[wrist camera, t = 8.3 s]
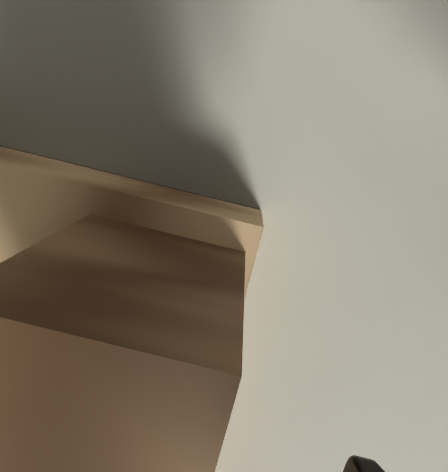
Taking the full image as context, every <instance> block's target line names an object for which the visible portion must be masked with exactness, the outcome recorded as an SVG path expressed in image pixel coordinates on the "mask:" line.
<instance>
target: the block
mask: <svg viewBox="0 0 448 472" xmlns="http://www.w3.org/2000/svg"><path fill="white" fill-rule="evenodd" d="M245 254H246V252H243V251H239V250H235V249H231V248H227V247H223V246H219V245H215V244H211V243H207V242H203V241H199V240H194V239H190V238H186V237H182V236H178V235H174V234H170V233H166V232H162V231H158V230H154V229H150V228H145V227H141V226H137V225H133V224H129V223H125V222H121V221H117V220H113V219H109V218H105V217H100V216H96V215H92V214H89V215H87V216H85V217H84V218H82V219H80V220H78V221H76V222H74V223H73V224H71V225H69V226H67V227H65V228H63V229H62V230H60V231H58V232H56V233H54V234H52V235H51V236H49V237H47V238H45V239H43V240H41V241H40V242H38V243H36V244H34V245H32V246H30V247H29V248H27V249H25V250H23V251H21V252H19V253H18V254H16V255H14V256H12V257H10V258H8V259H7V260H5V261H3V262H1V263H0V472H215V468H216V465H217V461H218V458H219V454H220V451H221V447H222V444H223V440H224V437H225V433H226V429H227V426H228V422H229V419H230V415H231V412H232V408H233V405H234V401H235V398H236V394H237V390H238V387H239V383H240V380H241V376H242V347H243V316H244V285H245Z"/></svg>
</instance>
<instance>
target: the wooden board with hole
mask: <svg viewBox="0 0 448 472" xmlns="http://www.w3.org/2000/svg"><path fill="white" fill-rule="evenodd" d="M89 214H92V215H96V216H100V217H105V218H109V219H113V220H117V221H121V222H125V223H129V224H133V225H137V226H141V227H145V228H150V229H154V230H158V231H162V232H166V233H170V234H174V235H178V236H182V237H186V238H190V239H194V240H199V241H203V242H207V243H211V244H215V245H219V246H223V247H227V248H231V249H235V250H239V251H243V252H246V254H245V285H244V298H245V294H246V290H247V287H248V283H249V279H250V276H251V272H252V268H253V265H254V261H255V257H256V253H257V250H258V246H259V242H260V239H261V235H262V231H263V219H262V212H261V210H258V209H254V208H250V207H246V206H242V205H238V204H234V203H230V202H226V201H221V200H217V199H213V198H209V197H205V196H201V195H197V194H193V193H189V192H185V191H181V190H177V189H172V188H168V187H164V186H160V185H156V184H152V183H148V182H144V181H140V180H136V179H132V178H128V177H123V176H119V175H115V174H111V173H107V172H103V171H99V170H95V169H91V168H87V167H83V166H79V165H74V164H70V163H66V162H62V161H58V160H54V159H50V158H46V157H42V156H38V155H34V154H30V153H26V152H21V151H17V150H13V149H9V148H5V147H1V146H0V263H1V262H3V261H5V260H7V259H8V258H10V257H12V256H14V255H16V254H18V253H19V252H21V251H23V250H25V249H27V248H29V247H30V246H32V245H34V244H36V243H38V242H40V241H41V240H43V239H45V238H47V237H49V236H51V235H52V234H54V233H56V232H58V231H60V230H62V229H63V228H65V227H67V226H69V225H71V224H73V223H74V222H76V221H78V220H80V219H82V218H84V217H85V216H87V215H89Z"/></svg>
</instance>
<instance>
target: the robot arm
mask: <svg viewBox="0 0 448 472" xmlns="http://www.w3.org/2000/svg"><path fill="white" fill-rule="evenodd" d="M343 472H385V471H384V470H383V469H382V468H381V467H380V466H379V465H378V464H377V463H376V462H375V461H374V460H371V459H367V458H363V457H359V456H355V455H353V456H351V457H350V458H349V459H348V460H347V463H346V465H345V468H344V470H343Z"/></svg>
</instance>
